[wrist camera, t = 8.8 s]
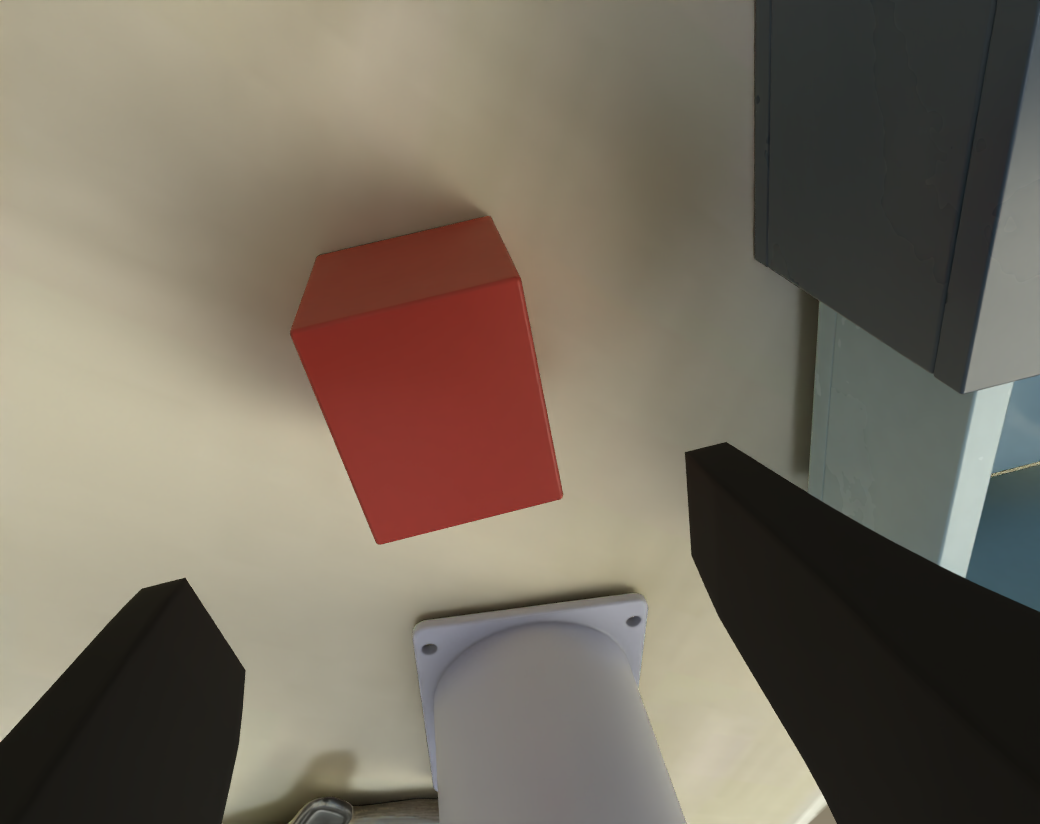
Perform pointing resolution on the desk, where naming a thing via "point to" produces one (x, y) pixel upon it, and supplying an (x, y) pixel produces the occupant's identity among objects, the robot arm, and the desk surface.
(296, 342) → the block
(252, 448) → the desk surface
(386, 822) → the avocado toast plate
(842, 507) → the drawer
